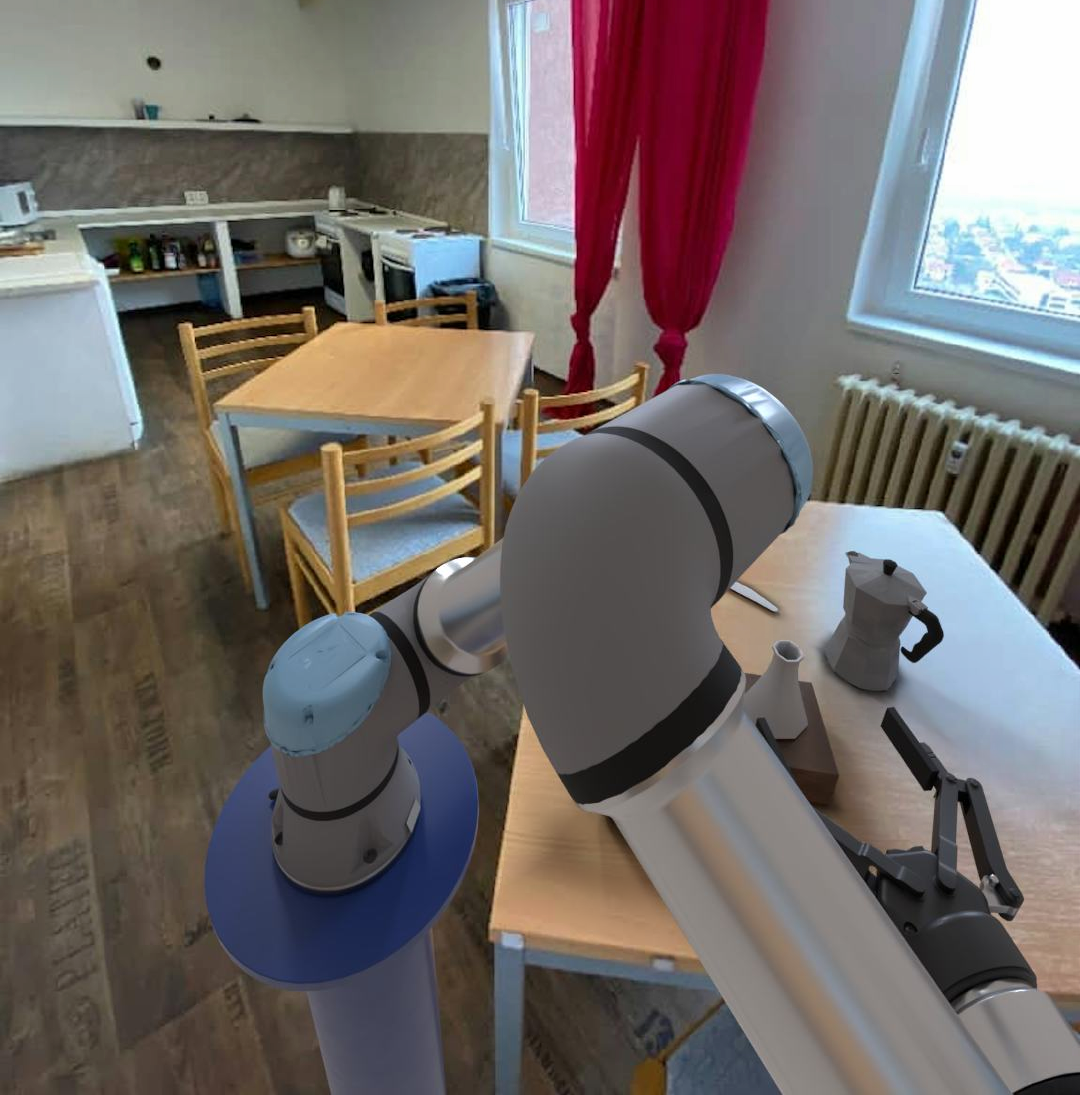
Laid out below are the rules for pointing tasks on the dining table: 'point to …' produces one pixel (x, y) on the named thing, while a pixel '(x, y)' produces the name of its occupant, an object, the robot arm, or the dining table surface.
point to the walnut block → (809, 750)
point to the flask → (779, 693)
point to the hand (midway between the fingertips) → (823, 721)
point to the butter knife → (753, 595)
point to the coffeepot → (878, 623)
